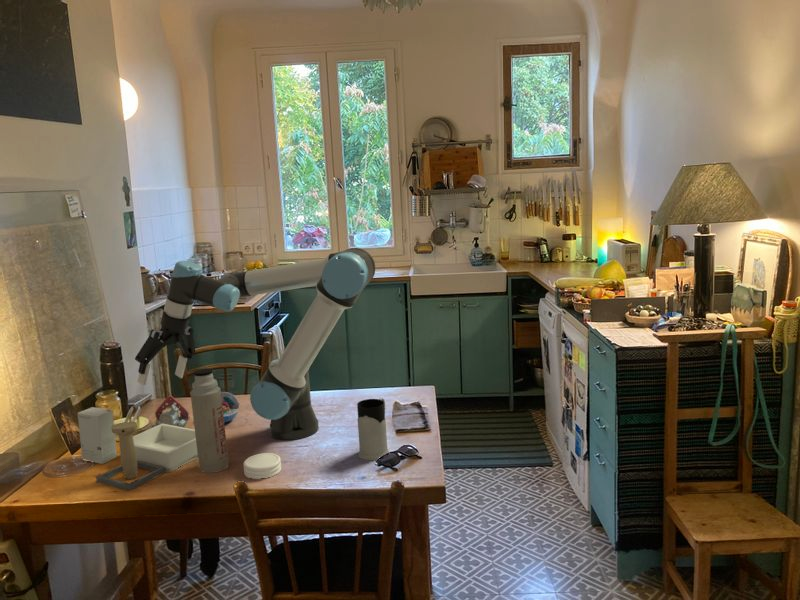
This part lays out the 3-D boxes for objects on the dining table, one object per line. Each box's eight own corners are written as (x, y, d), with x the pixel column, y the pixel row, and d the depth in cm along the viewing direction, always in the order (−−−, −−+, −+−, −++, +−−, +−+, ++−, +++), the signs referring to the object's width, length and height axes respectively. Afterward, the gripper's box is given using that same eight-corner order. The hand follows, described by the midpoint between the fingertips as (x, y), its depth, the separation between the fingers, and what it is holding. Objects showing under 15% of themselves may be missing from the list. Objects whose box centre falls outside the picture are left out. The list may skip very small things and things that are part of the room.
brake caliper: (198, 413, 227) (185, 393, 218) (189, 442, 219) (176, 423, 210) (165, 413, 228) (151, 393, 219) (156, 443, 221) (141, 423, 212)
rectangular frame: (165, 472, 188) (164, 466, 188) (129, 490, 178) (128, 485, 178) (133, 464, 194) (132, 459, 194) (96, 482, 184) (96, 477, 184)
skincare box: (82, 461, 198) (74, 413, 196) (98, 453, 204) (91, 406, 201) (104, 464, 195) (96, 415, 193) (119, 456, 201) (112, 408, 198)
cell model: (204, 428, 219) (201, 400, 217) (216, 415, 231) (212, 388, 229) (235, 427, 218) (232, 399, 217) (245, 414, 230) (242, 387, 228)
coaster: (265, 461, 192) (264, 449, 192) (289, 469, 186) (288, 457, 185) (236, 474, 185) (235, 462, 184) (260, 483, 178) (259, 471, 178)
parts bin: (212, 450, 202) (210, 432, 201) (170, 472, 188) (168, 453, 187) (164, 440, 211) (162, 423, 210) (121, 460, 198) (118, 442, 197)
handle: (120, 475, 188) (112, 423, 185) (144, 471, 189) (137, 420, 186) (117, 482, 183) (109, 430, 180) (142, 478, 185) (135, 426, 182)
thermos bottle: (234, 463, 191) (224, 367, 186) (213, 475, 185) (202, 376, 179) (214, 458, 195) (204, 364, 190) (193, 469, 189) (181, 372, 183)
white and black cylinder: (353, 458, 190) (349, 407, 187) (372, 439, 203) (369, 391, 200) (382, 461, 187) (379, 409, 184) (400, 441, 200) (397, 392, 197)
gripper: (200, 306, 209) (185, 368, 214) (132, 311, 188) (116, 380, 193) (217, 315, 206) (201, 378, 211) (149, 322, 184) (132, 392, 189)
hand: (160, 379), depth 202 cm, fingers open, 13 cm apart
